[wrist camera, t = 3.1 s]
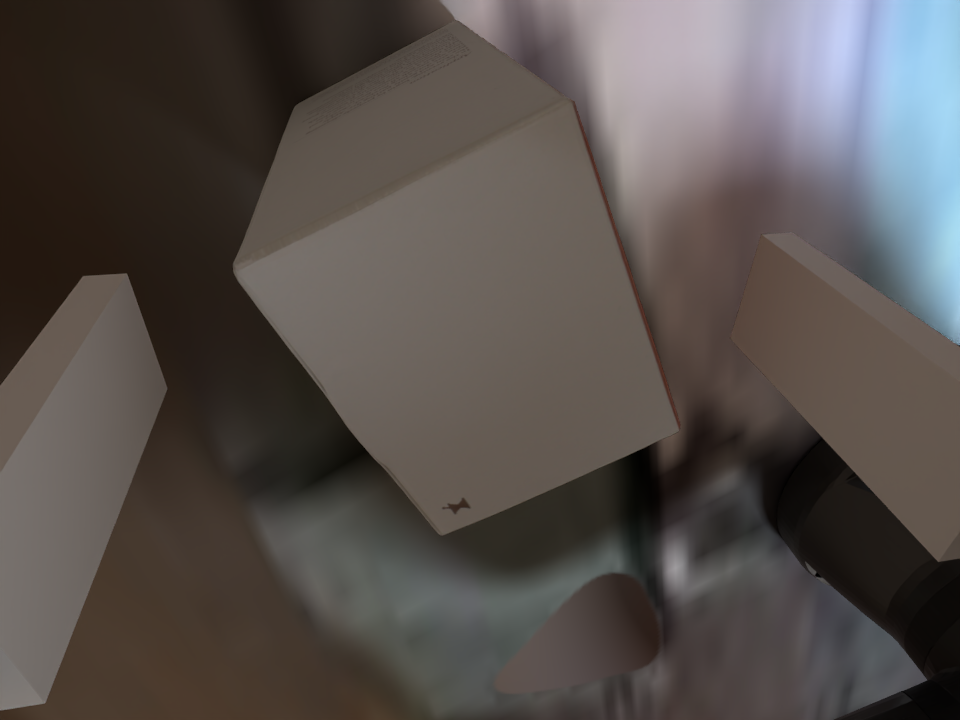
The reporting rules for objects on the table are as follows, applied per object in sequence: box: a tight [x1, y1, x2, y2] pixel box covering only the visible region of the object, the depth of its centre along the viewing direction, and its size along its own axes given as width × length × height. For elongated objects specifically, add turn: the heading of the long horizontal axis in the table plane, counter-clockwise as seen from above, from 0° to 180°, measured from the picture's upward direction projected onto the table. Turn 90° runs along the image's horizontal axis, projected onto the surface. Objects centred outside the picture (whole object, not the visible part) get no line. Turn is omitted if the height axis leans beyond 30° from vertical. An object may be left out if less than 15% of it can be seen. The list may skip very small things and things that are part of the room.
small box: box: [233, 20, 680, 535], centre depth 17 cm, size 8×6×13 cm
